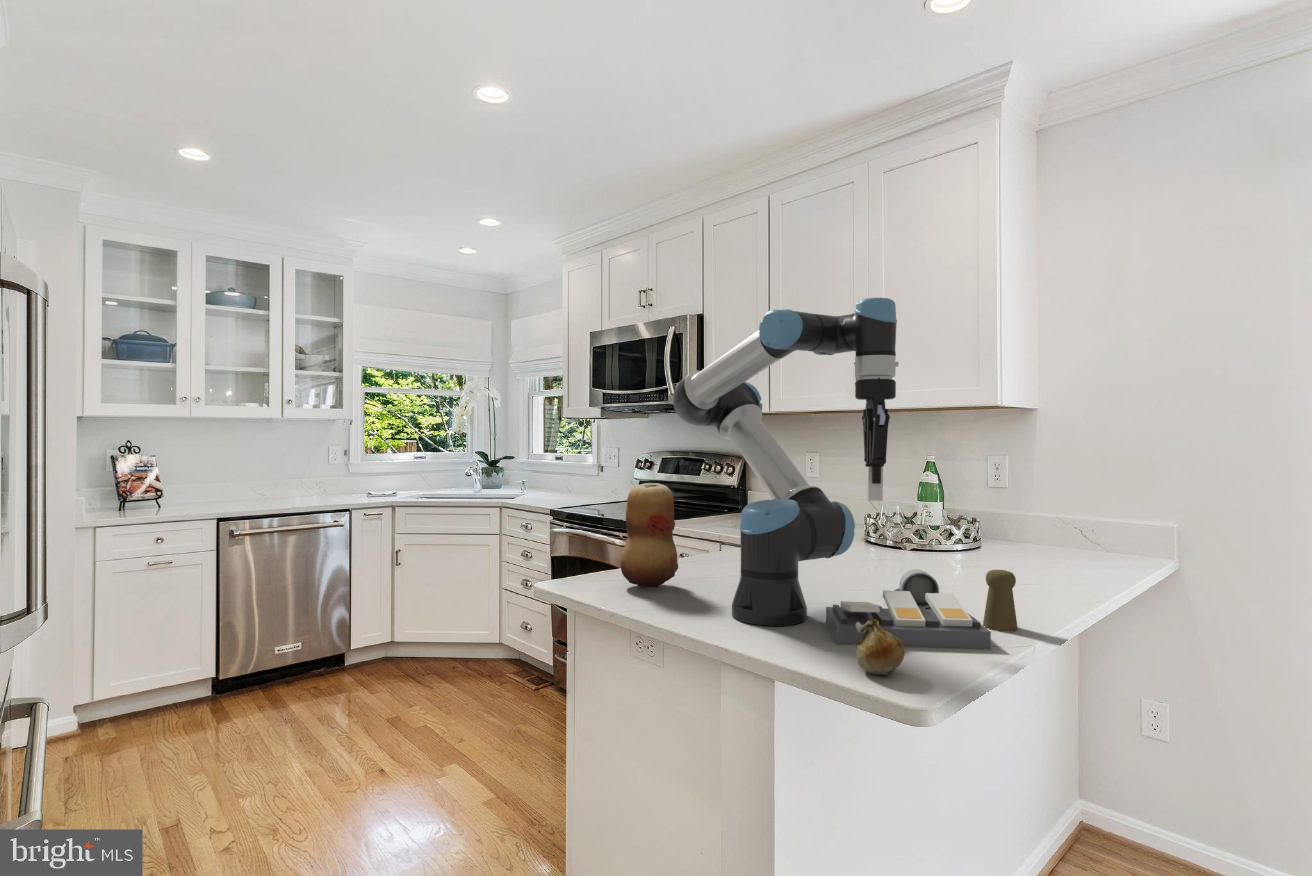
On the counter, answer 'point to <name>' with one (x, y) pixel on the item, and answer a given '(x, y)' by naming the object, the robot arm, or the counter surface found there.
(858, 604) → the left rocker
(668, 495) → the butternut squash
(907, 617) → the block
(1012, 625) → the cork
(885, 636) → the onion
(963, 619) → the right rocker
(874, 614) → the rocker switch panel
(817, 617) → the counter surface
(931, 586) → the ceramic mug
